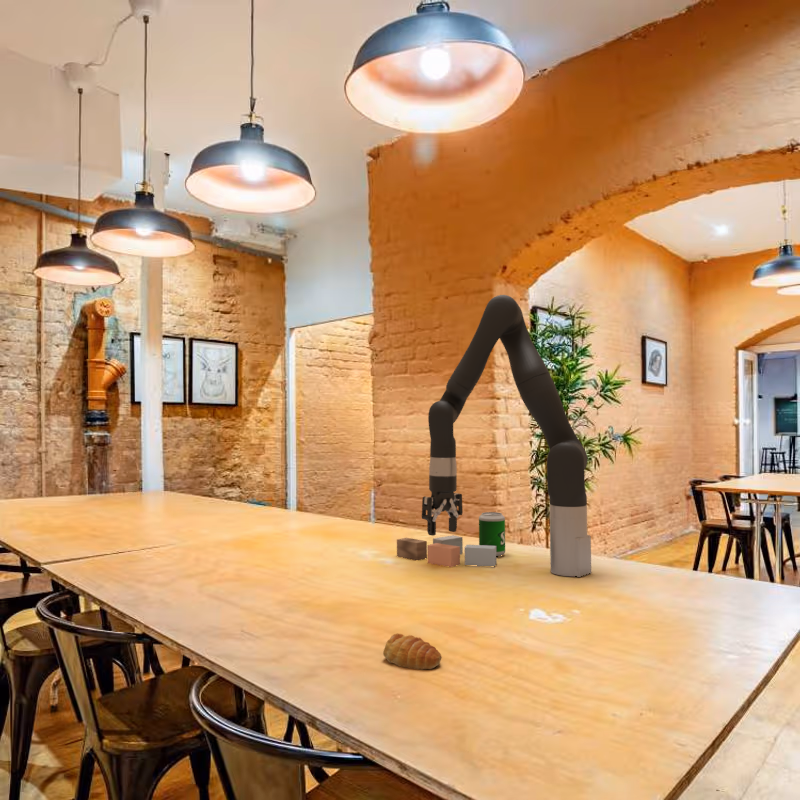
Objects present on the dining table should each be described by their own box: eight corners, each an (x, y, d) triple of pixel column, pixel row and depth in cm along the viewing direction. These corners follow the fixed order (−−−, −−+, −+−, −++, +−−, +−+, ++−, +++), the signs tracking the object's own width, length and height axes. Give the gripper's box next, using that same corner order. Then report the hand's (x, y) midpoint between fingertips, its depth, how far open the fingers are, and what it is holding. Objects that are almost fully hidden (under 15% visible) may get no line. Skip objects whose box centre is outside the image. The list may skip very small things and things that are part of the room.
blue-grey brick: (496, 564, 171) (496, 545, 171) (494, 567, 167) (494, 548, 168) (467, 562, 173) (467, 544, 174) (464, 566, 170) (464, 547, 170)
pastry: (450, 662, 102) (449, 638, 102) (426, 676, 96) (426, 651, 96) (403, 650, 107) (402, 627, 107) (378, 663, 102) (378, 639, 102)
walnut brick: (426, 558, 179) (426, 541, 179) (417, 561, 176) (417, 543, 176) (406, 554, 184) (406, 537, 185) (396, 557, 182) (396, 539, 182)
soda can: (497, 559, 177) (497, 516, 178) (474, 555, 182) (473, 514, 182) (510, 554, 183) (509, 513, 184) (487, 551, 188) (486, 511, 188)
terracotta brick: (460, 565, 171) (459, 546, 171) (451, 567, 168) (451, 548, 168) (436, 561, 176) (436, 543, 176) (427, 563, 173) (427, 545, 173)
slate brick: (453, 552, 188) (453, 535, 188) (462, 554, 185) (462, 537, 185) (433, 555, 183) (432, 538, 183) (442, 558, 180) (442, 540, 180)
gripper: (435, 476, 165) (435, 538, 165) (470, 473, 175) (469, 532, 175) (415, 474, 170) (414, 534, 170) (449, 471, 180) (448, 528, 180)
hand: (442, 533), depth 172 cm, fingers open, 8 cm apart
